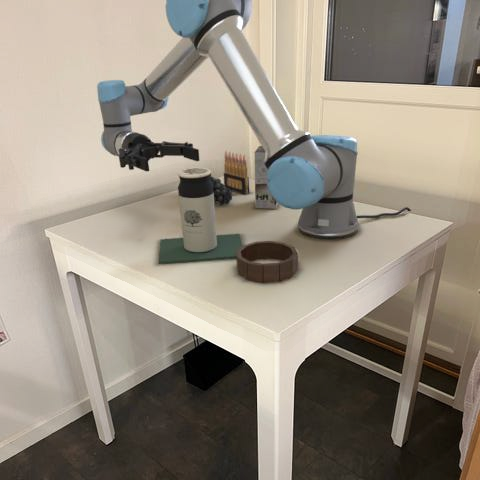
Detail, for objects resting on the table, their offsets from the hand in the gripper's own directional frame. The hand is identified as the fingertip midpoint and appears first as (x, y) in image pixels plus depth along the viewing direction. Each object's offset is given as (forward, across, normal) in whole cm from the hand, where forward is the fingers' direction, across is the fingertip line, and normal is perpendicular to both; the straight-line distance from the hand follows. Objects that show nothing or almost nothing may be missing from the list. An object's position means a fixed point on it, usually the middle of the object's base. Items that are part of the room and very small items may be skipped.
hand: (173, 160), depth 114 cm
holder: (+29, -5, -20) cm, 35 cm away
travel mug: (+10, 0, -19) cm, 21 cm away
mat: (+10, 0, -20) cm, 22 cm away
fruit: (-19, -22, -20) cm, 35 cm away
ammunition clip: (-25, -35, -20) cm, 47 cm away
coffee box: (-7, -34, -20) cm, 40 cm away
